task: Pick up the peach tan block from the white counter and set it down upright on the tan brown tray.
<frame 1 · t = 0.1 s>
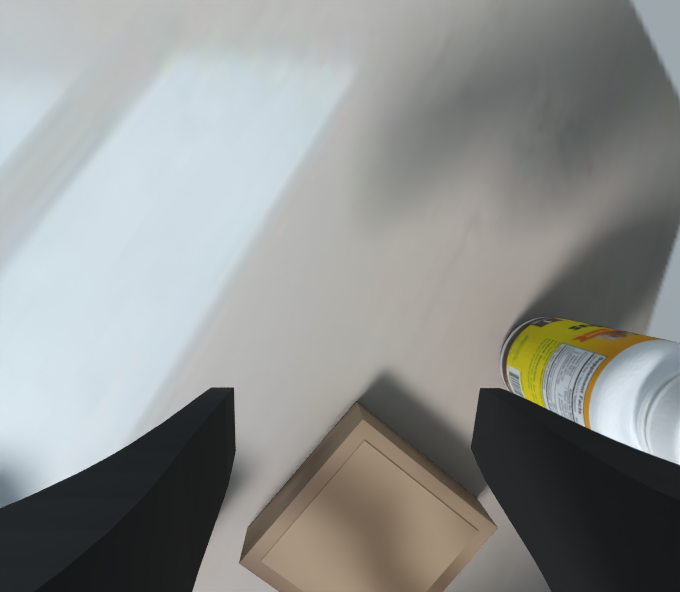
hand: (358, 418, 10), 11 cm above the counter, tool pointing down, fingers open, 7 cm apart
tan brown tray: (365, 513, 22), on the counter
supplement bottle: (536, 358, 22), on the counter
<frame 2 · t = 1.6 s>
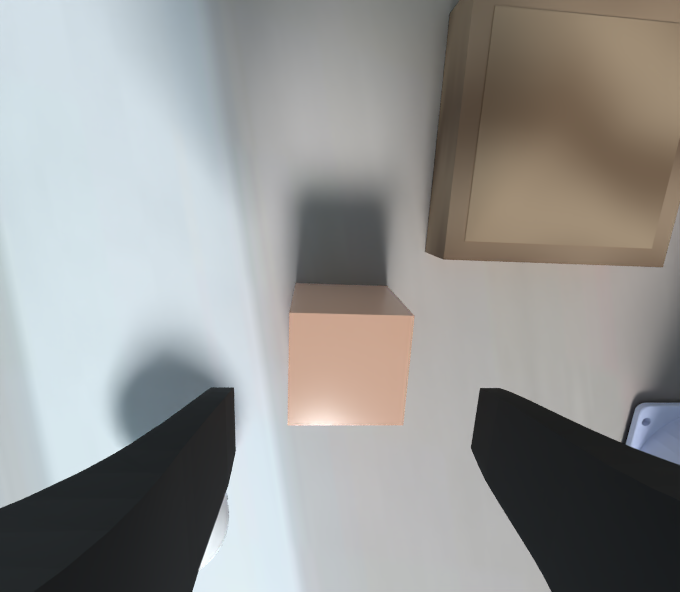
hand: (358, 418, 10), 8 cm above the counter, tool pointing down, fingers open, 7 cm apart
tan brown tray: (541, 148, 17), on the counter
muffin: (186, 463, 20), on the counter
peach tan block: (339, 327, 18), on the counter
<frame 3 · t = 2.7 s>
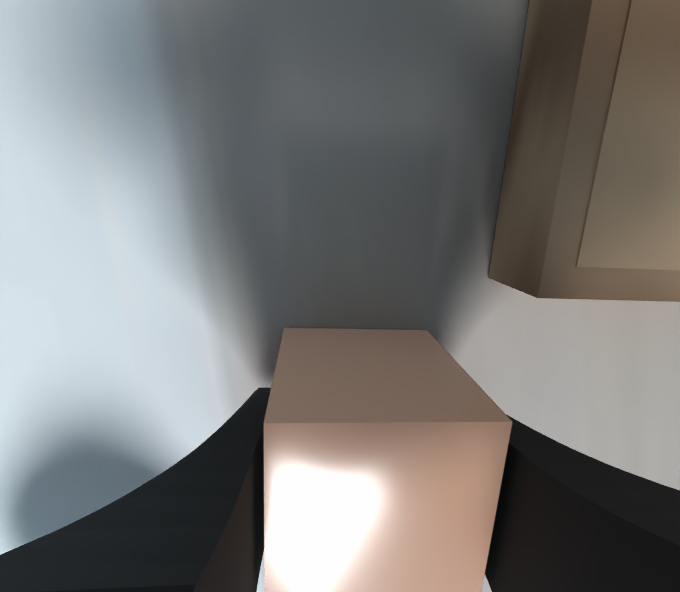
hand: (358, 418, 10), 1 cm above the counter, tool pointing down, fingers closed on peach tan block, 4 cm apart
tan brown tray: (679, 112, 10), on the counter
peach tan block: (352, 394, 12), on the counter, touching gripper
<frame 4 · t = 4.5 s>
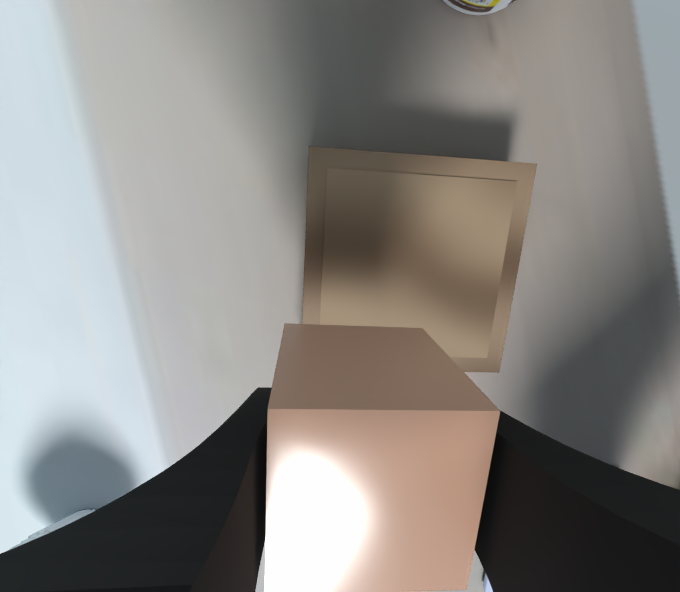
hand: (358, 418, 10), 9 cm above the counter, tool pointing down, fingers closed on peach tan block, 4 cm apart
tan brown tray: (400, 262, 19), on the counter
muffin: (95, 527, 22), on the counter
peach tan block: (350, 388, 12), point 8 cm above the counter, touching gripper
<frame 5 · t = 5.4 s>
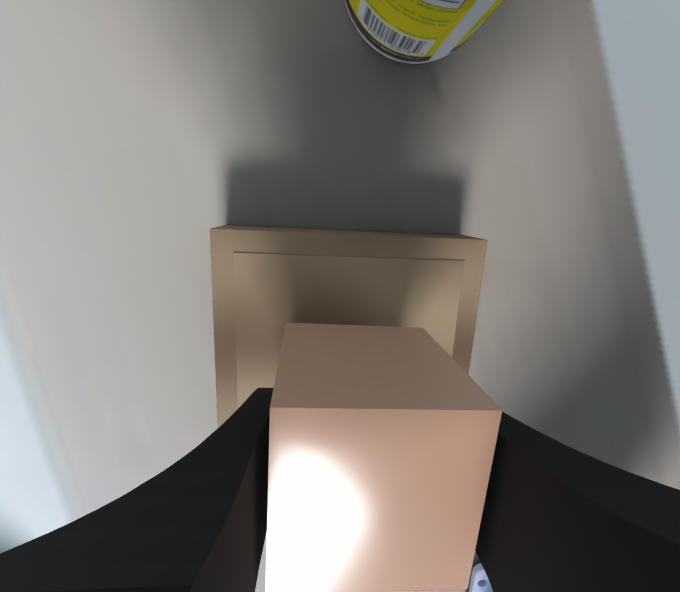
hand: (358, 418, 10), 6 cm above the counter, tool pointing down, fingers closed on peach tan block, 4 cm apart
tan brown tray: (341, 340, 17), on the counter
peach tan block: (350, 388, 12), point 4 cm above the counter, touching gripper
when the fingers open (5 cm above the counter, at t = 6.1 s): peach tan block stays where it is, resting on tan brown tray.
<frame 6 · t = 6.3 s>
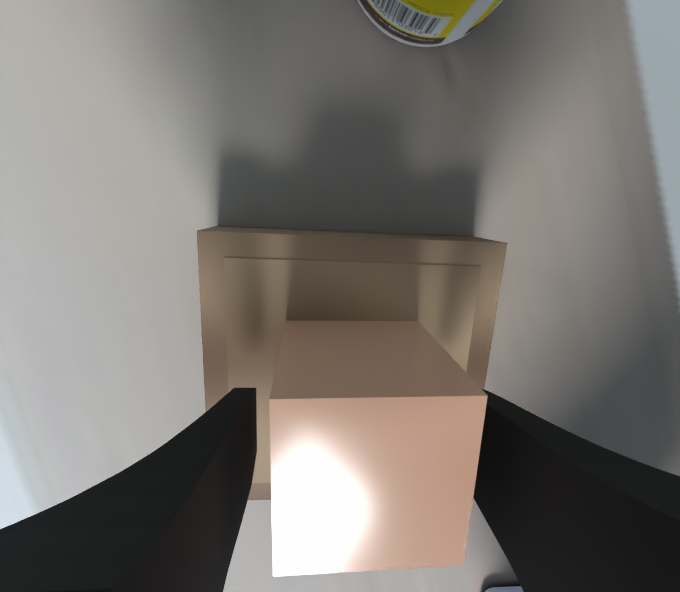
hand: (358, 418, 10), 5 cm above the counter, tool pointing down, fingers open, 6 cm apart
tan brown tray: (343, 351, 15), on the counter
peach tan block: (350, 381, 13), point 3 cm above the counter, touching tan brown tray
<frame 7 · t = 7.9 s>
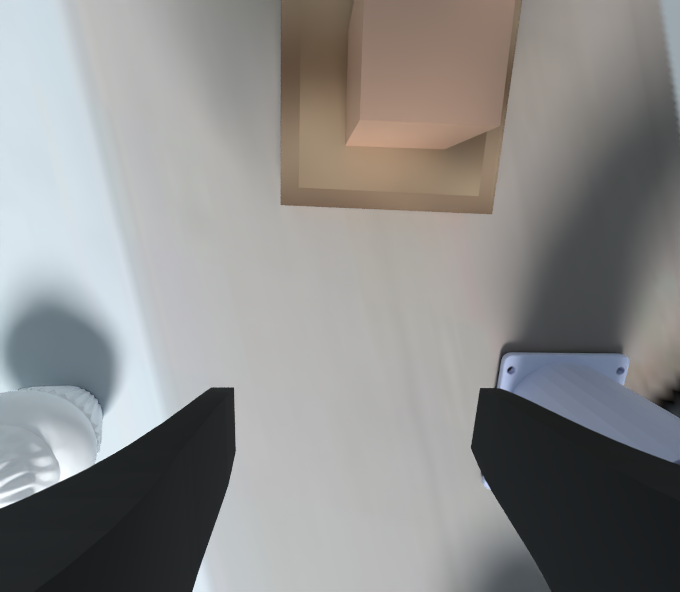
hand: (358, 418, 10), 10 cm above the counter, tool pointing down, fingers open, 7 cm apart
tan brown tray: (386, 106, 18), on the counter
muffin: (75, 408, 21), on the counter
peach tan block: (398, 91, 16), point 3 cm above the counter, touching tan brown tray
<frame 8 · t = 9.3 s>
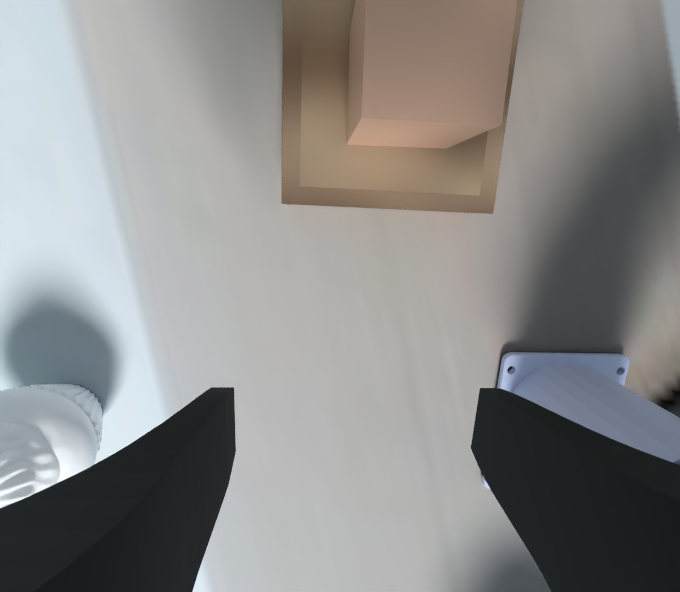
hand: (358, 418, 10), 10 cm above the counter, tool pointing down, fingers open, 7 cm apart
tan brown tray: (387, 105, 18), on the counter
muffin: (75, 407, 21), on the counter
peach tan block: (399, 90, 16), point 3 cm above the counter, touching tan brown tray
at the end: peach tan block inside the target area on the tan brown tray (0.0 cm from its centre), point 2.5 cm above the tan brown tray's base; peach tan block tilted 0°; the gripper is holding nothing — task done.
